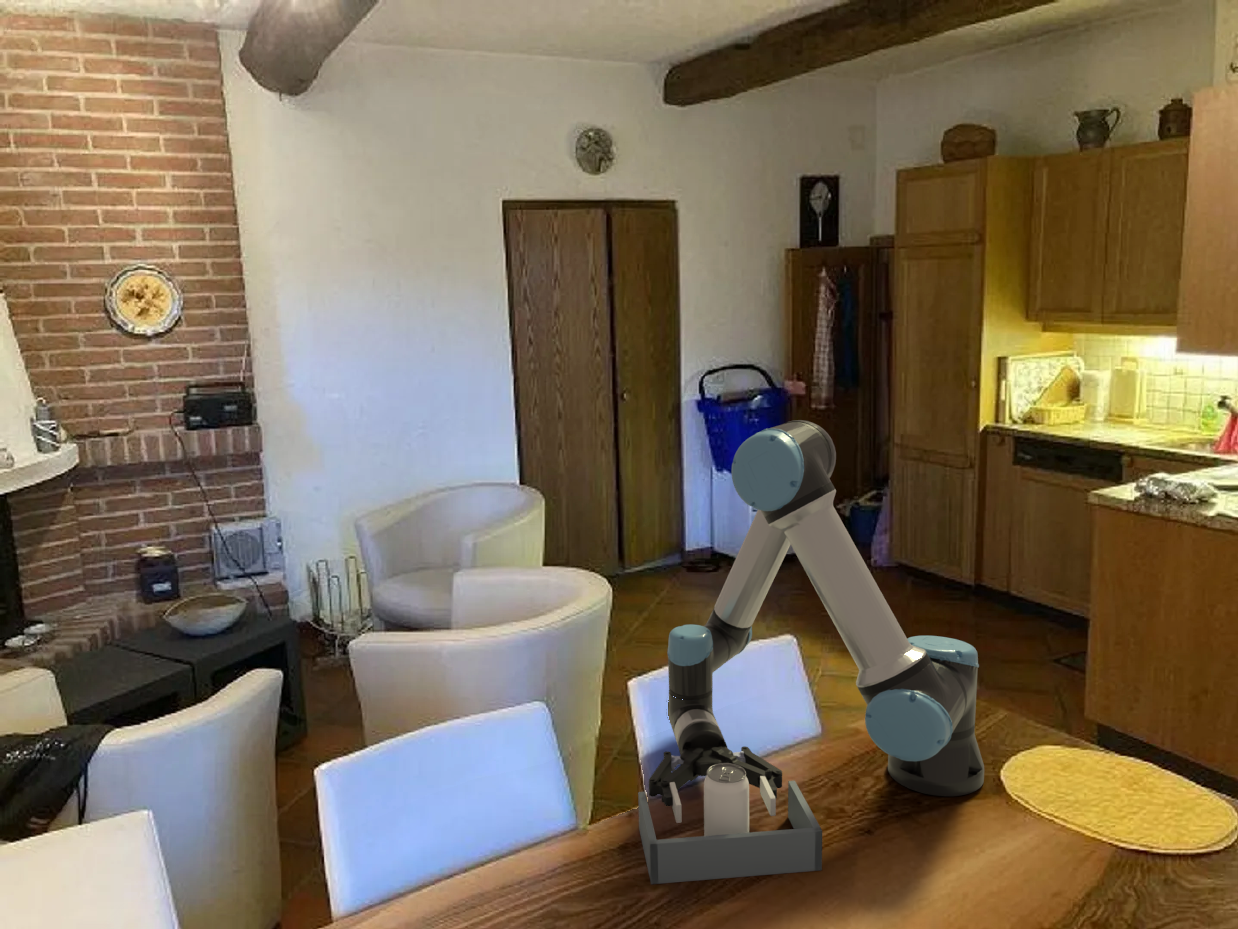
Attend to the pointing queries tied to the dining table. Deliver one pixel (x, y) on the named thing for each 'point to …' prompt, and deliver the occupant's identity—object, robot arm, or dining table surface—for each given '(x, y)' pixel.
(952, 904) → the dining table surface
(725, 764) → the can
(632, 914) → the dining table surface
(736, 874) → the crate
